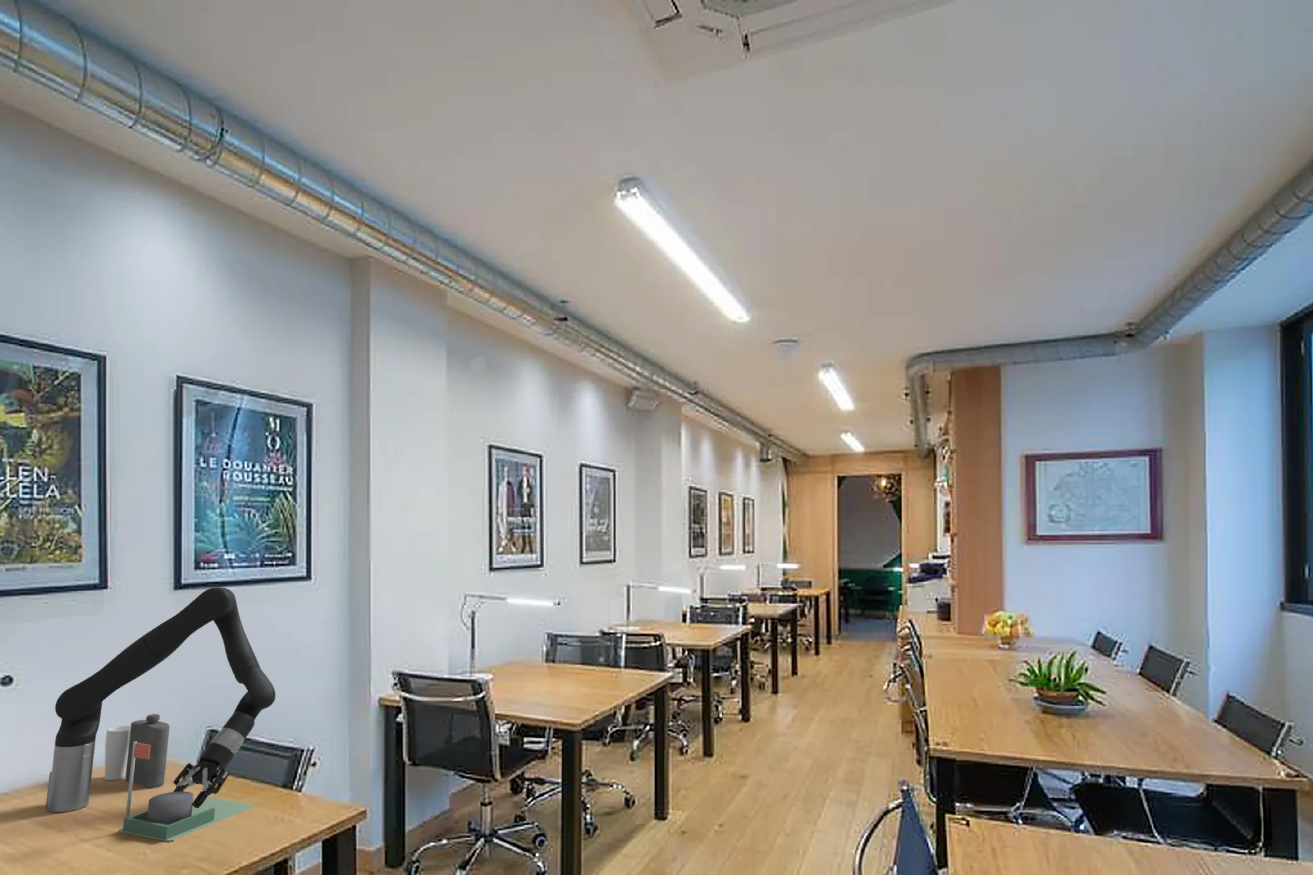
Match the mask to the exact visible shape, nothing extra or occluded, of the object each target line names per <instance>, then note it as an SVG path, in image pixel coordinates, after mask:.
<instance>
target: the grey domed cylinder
mask: <svg viewBox="0 0 1313 875" xmlns="http://www.w3.org/2000/svg"><path fill="white" fill-rule="evenodd" d="M193 802H194V793H193V792H190V791H184V792H183V791H180V792H173V791H169V792H164V793H159V794H158V795H154V796H152V797H151V798H149V800H148V807H147V810H148V815H147V821H150V822H155V823H160V824H165V825H169V824H172V823H174V822H177V821H180V820H182V819H185V818H188V817H190V816H191V815H192V803H193Z"/></svg>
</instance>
